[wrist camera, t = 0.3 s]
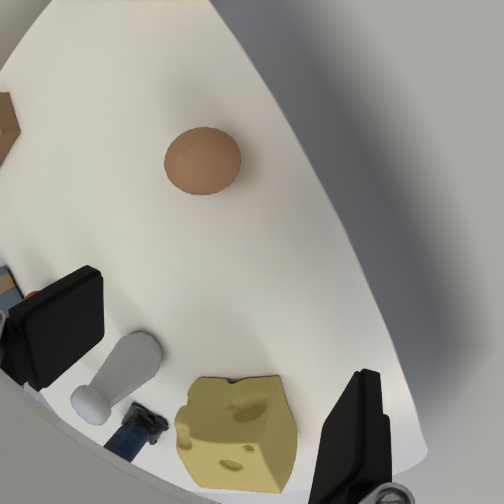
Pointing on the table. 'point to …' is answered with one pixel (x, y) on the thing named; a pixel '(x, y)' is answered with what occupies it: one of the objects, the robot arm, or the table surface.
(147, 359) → the salt shaker
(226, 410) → the cheese
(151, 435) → the dark blue cylinder
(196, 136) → the egg
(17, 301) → the blue toy backpack
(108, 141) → the table surface
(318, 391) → the table surface
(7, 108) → the compartment tray
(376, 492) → the robot arm
